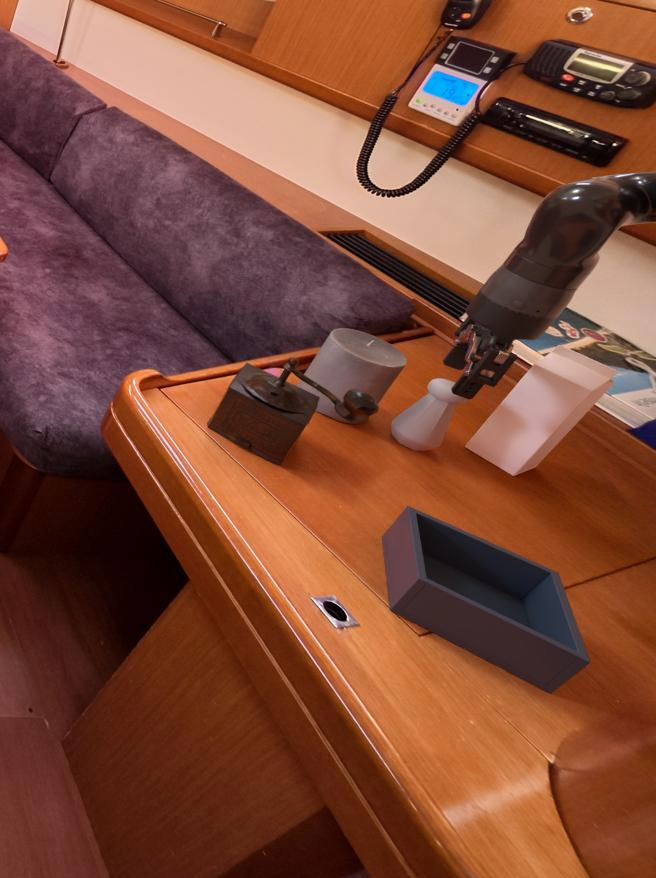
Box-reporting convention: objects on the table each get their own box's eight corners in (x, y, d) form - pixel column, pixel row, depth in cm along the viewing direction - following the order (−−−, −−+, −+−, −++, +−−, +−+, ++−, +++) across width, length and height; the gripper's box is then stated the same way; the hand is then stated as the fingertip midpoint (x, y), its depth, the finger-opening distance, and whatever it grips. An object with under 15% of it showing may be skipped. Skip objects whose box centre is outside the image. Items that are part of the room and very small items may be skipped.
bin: (524, 604, 82) (559, 572, 79) (551, 694, 73) (591, 663, 70) (381, 536, 90) (407, 505, 87) (389, 610, 81) (418, 578, 78)
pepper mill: (203, 428, 107) (247, 348, 99) (223, 398, 113) (266, 321, 105) (321, 493, 96) (381, 410, 88) (336, 456, 102) (394, 376, 94)
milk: (513, 477, 99) (607, 376, 89) (462, 446, 105) (546, 348, 94) (535, 467, 101) (630, 367, 91) (484, 438, 106) (569, 340, 96)
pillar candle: (333, 384, 117) (374, 322, 110) (382, 426, 108) (430, 362, 101) (280, 382, 117) (318, 320, 110) (325, 424, 108) (369, 359, 101)
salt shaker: (430, 461, 102) (476, 405, 96) (381, 438, 106) (424, 382, 100) (435, 444, 105) (481, 388, 99) (388, 422, 109) (430, 367, 103)
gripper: (573, 335, 84) (500, 419, 92) (546, 289, 94) (482, 368, 101) (491, 311, 89) (427, 393, 96) (473, 269, 98) (417, 346, 106)
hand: (455, 380), depth 99 cm, fingers open, 8 cm apart
